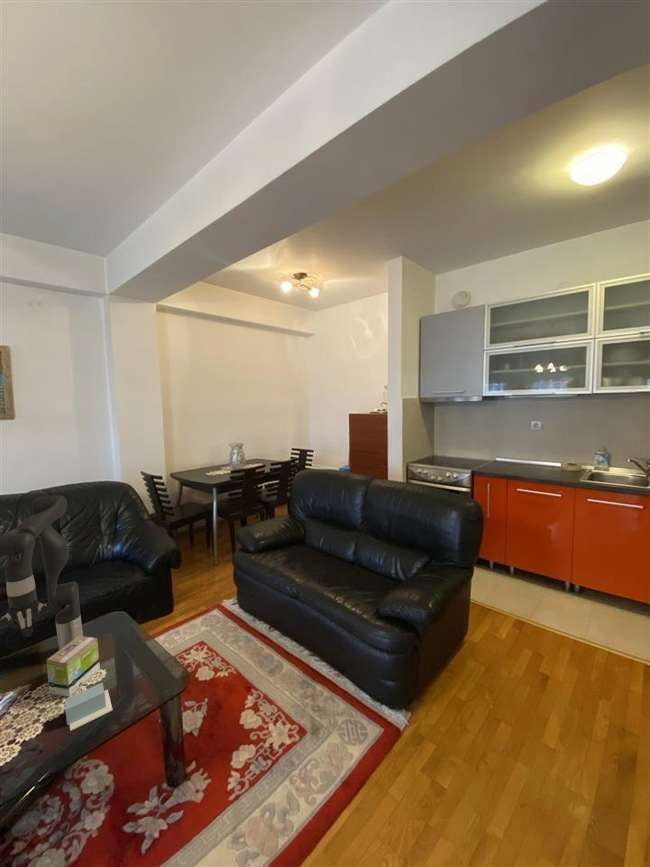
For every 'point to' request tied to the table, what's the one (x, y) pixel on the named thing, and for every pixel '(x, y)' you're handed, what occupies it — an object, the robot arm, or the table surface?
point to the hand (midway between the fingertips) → (27, 635)
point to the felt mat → (93, 714)
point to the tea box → (73, 665)
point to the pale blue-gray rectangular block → (85, 703)
